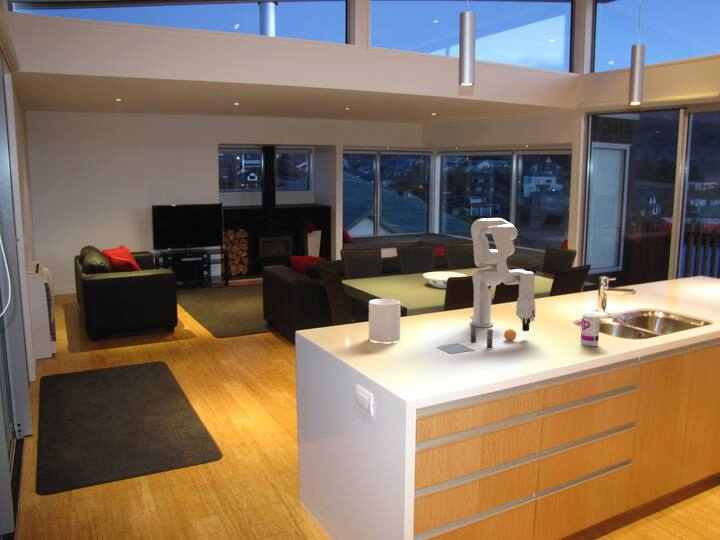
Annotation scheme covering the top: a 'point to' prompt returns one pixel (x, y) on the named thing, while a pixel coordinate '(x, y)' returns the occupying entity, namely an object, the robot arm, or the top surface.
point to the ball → (510, 334)
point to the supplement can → (590, 330)
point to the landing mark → (454, 348)
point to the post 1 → (473, 332)
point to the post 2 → (489, 338)
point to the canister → (384, 320)
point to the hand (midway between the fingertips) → (525, 330)
